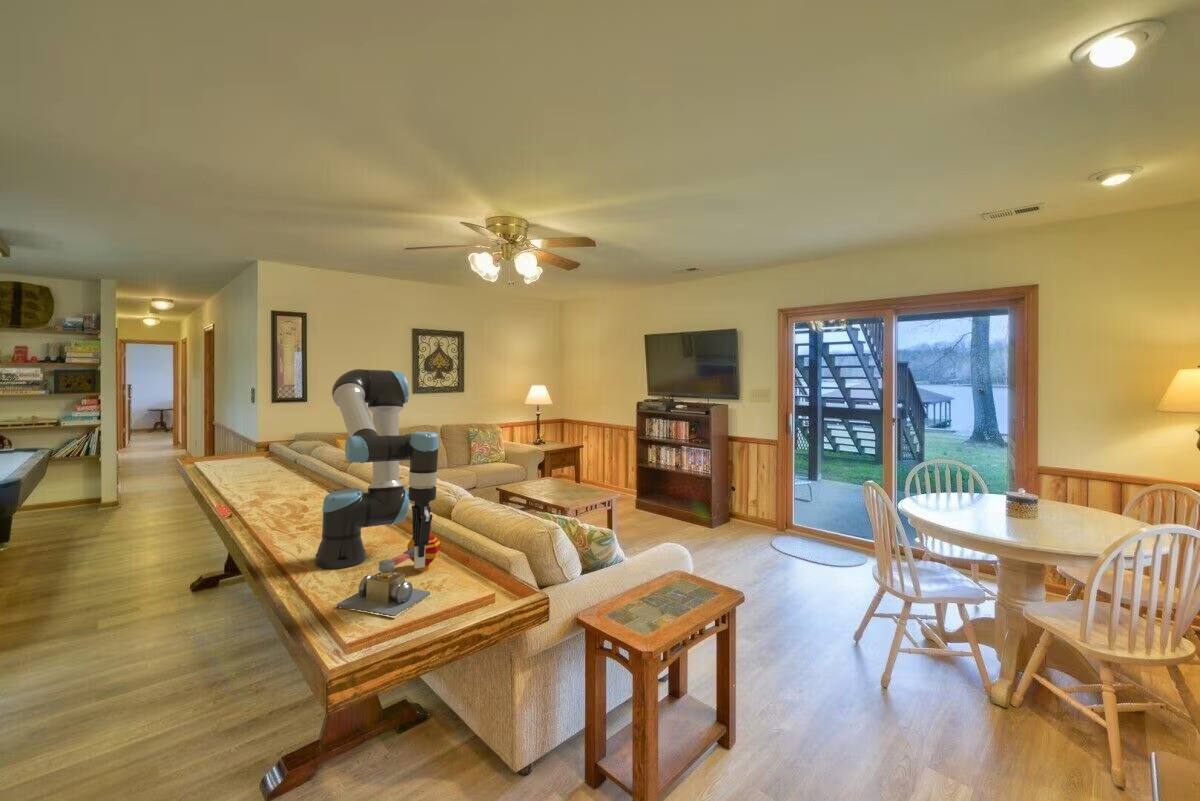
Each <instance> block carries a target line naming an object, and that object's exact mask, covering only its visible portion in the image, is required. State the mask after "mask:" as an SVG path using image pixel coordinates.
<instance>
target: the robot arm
mask: <svg viewBox="0 0 1200 801" xmlns="http://www.w3.org/2000/svg"><path fill="white" fill-rule="evenodd" d="M409 387H410V386H409V382H408V379H407V378H406V376H405V374H404V373H403V372H401V371H397V370H386V369H385V370H384V369H363V368H361V369H360V368H357V369H352V370H348V371H346V372H345V373H342V375H340V376H339V377H338V378H337V379H336V380H335V382H334V384H333V386H332V389H331V396H332V400H333V402H334V404H335V405H336V406H337V407H338V408H339V410H340V412H341V413H340V414H341V415H342V419H343V422H344V425H345V427H346V431H347V434H348V437H347V438H346V440H345V443H344V444H345V445H344V454H345V459H346V461H347V462H348V463H352V464H353V463H355V464H356V463H357V464H359V463H360V464H365V463H372V482H371V483H370V484H368V486H367V492H364V491H363V490H362V489H361V488H356V487H355V488H345V489H343V488H342V489H339V490H336V491H333V492H330V493H328V494H327V495H325V497H324V499H323V503H322V504H323V505H322V509H321V512H322V526H321V527H322V530H321V540H320V544H319V545H318V549H317V553H316V554H315V555H314V556H315V557H314V565H315V566H316V567H319V568H322V569H344V568H350V567H354V566H357V565H359V564H362V563H363V562H364V561H366V559H367V558H366V556H367V552H366V549H365V548H364V547H365V546H364V542H363V540H362V528H371V527H379V526H386V525H388V526H391V525H394V524H400V523H402V522H404V521H405V520H406V518H407V516H408V513H409V511H410V508H411V515H412V516H411V518H412V519H411V520H412V538H413V540H414V543H415V544H414V547H415V550H414V562H413V568H421V567H425V550H426V545H428V543H429V534H430V532H431V529H430V526H431V527H432V520H433V514H432V513H431V506H430V502H433V501H435V500H436V499H437V487H436V485H437V480H438V479H437V478H438V477H439V473H438V463H439V462H438V460H439V458H438V457H439V446H440V444H439V435H438V433H437V432H435V431H434V432H433V431H414V432H412V433H405V434H402V435H400V427H399V426H400V419H399V418H400V416H399V415H400V412H401V411H403V409H404V405H405V404H407V403H408V402H409V400H410V399H409V398H410V397H409V396H410V388H409ZM370 412H371V414H372V416H371V414H370ZM403 461H409V472H408V473H409V474H408V485H409V487H408V489H405V488H404V486H405V485H404V483H402V482H401V481H400V462H403ZM411 502H414V504H413V505H411V507H410V503H411ZM430 535H431V534H430Z"/></svg>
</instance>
